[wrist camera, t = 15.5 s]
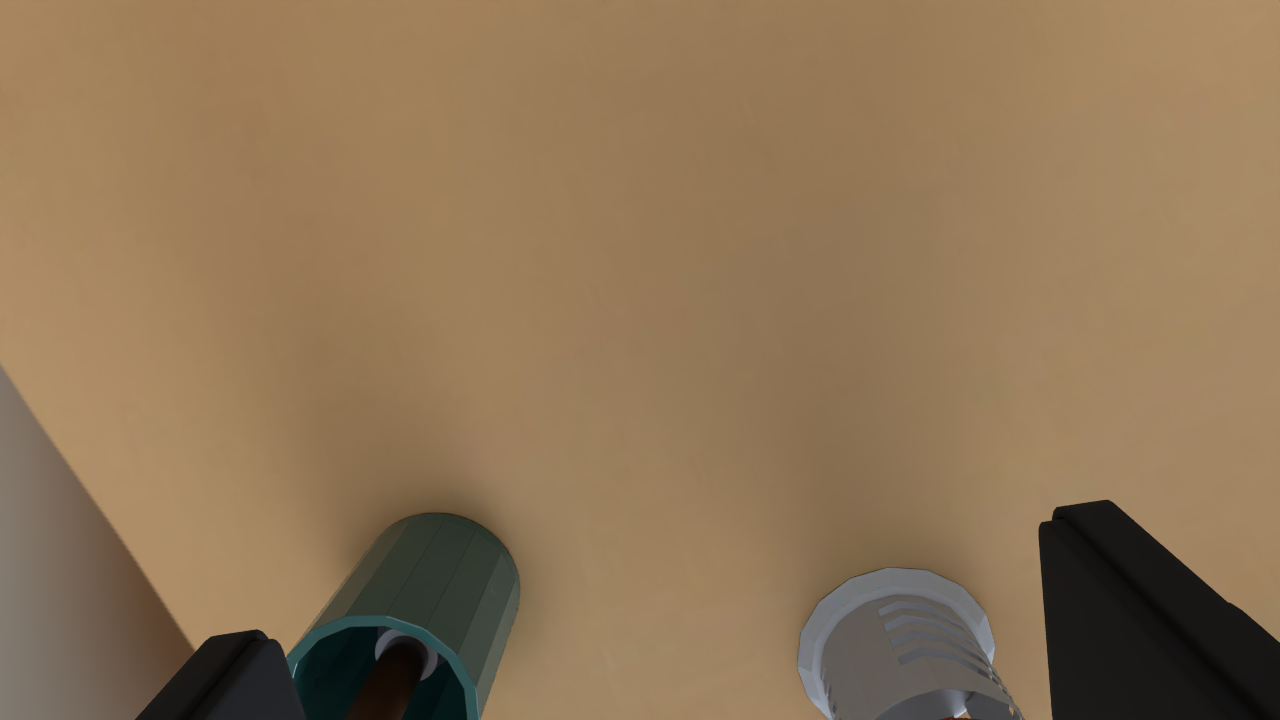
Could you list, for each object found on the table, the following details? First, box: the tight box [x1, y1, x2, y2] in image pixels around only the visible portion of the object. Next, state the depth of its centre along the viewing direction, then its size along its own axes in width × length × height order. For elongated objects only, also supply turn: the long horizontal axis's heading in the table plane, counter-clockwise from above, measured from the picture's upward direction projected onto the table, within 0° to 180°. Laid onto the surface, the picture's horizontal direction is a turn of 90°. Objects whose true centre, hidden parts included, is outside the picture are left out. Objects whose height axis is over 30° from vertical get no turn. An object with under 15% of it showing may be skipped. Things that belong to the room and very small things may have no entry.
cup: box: [286, 513, 520, 720], centre depth 39 cm, size 8×8×10 cm
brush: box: [343, 626, 446, 720], centre depth 36 cm, size 4×4×14 cm
